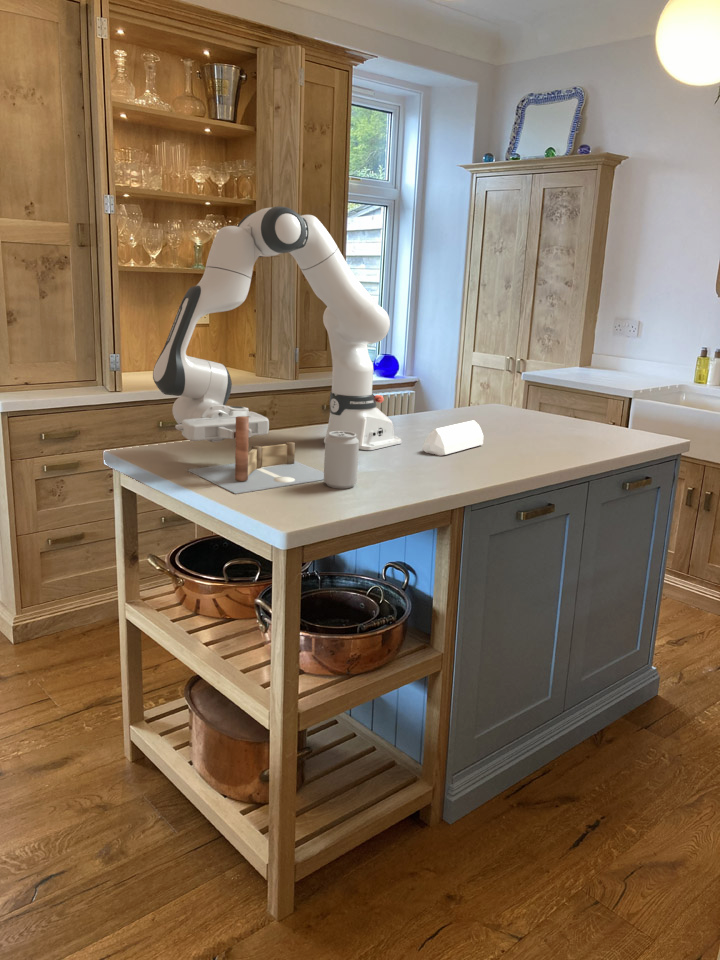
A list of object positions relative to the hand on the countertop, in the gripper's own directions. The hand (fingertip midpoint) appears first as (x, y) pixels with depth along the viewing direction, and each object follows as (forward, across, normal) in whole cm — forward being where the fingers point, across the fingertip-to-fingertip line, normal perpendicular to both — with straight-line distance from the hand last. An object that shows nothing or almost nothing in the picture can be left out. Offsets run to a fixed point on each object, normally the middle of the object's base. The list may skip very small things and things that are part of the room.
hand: (242, 434), depth 171 cm
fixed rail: (-7, +13, +10) cm, 18 cm away
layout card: (-2, +6, +10) cm, 12 cm away
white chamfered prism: (-2, +68, +11) cm, 69 cm away
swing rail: (-2, +2, +10) cm, 10 cm away
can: (+14, +18, +10) cm, 25 cm away
